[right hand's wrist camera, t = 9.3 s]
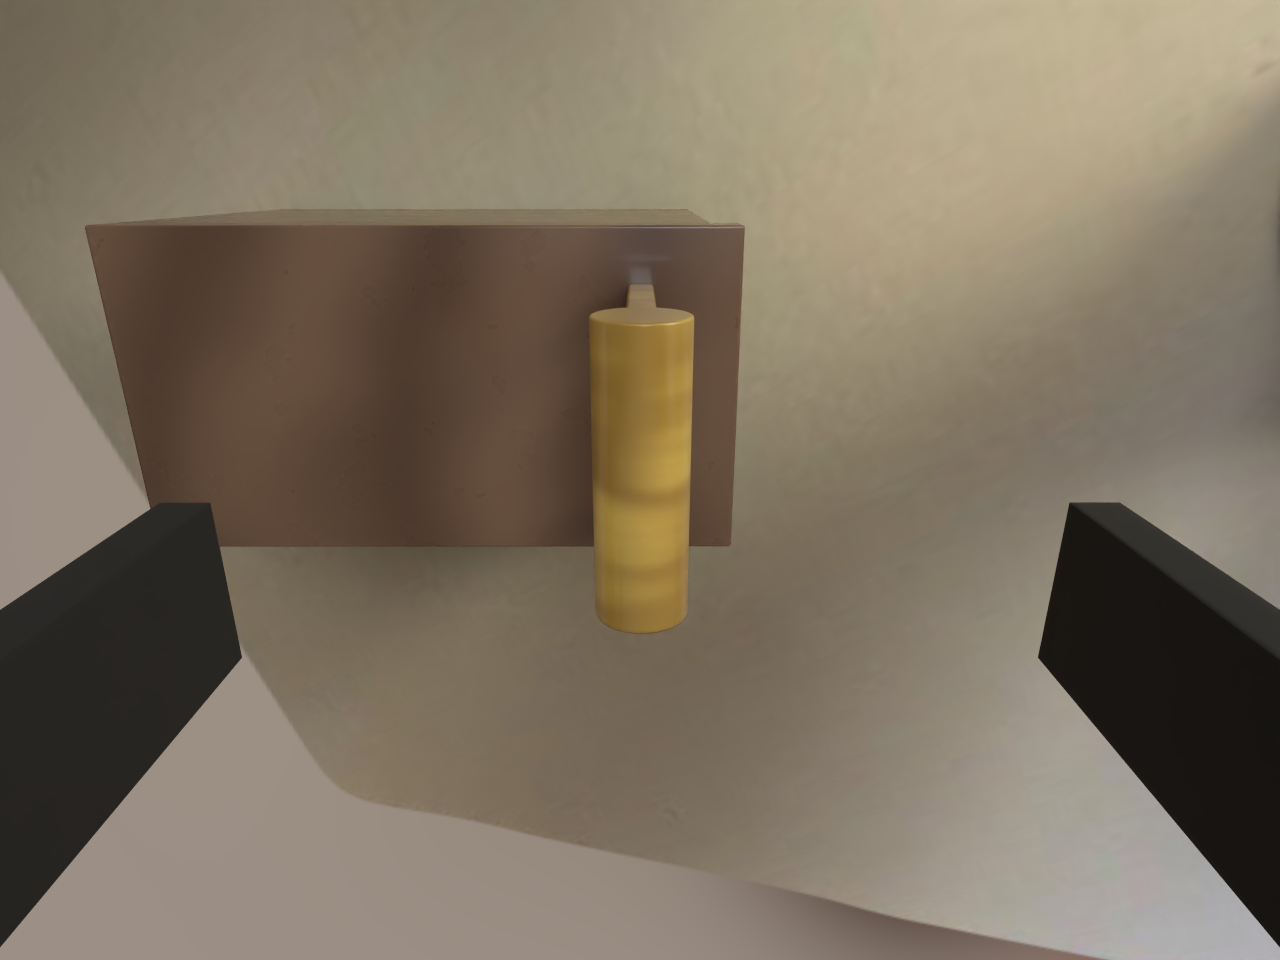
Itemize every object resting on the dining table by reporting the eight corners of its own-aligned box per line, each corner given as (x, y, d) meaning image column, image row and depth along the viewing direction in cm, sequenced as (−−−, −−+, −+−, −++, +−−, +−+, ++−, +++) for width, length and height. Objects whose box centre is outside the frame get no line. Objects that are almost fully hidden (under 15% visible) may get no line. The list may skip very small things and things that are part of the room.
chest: (688, 209, 33) (712, 222, 22) (684, 429, 36) (702, 530, 26) (279, 209, 33) (112, 223, 22) (312, 429, 36) (180, 530, 26)
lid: (739, 222, 22) (795, 246, 14) (726, 530, 26) (766, 688, 18) (111, 222, 22) (-182, 246, 14) (179, 531, 26) (-28, 689, 18)
